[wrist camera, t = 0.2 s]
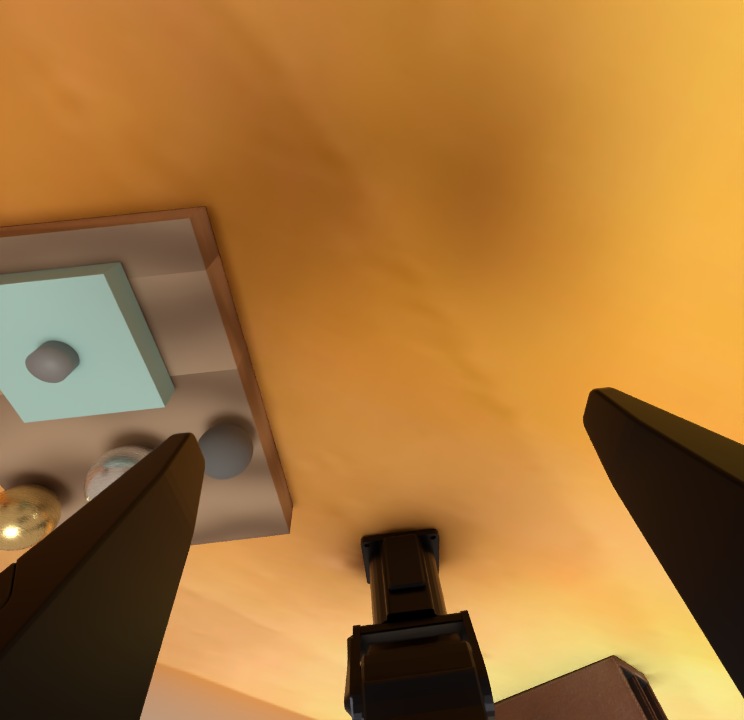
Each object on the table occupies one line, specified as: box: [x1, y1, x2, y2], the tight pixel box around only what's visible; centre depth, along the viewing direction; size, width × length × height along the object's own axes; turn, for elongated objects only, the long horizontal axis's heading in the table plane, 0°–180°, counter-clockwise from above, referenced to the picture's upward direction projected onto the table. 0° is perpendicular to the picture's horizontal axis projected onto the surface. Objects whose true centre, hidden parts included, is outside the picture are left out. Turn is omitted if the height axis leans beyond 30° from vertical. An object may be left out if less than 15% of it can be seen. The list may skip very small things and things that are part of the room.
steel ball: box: [84, 445, 152, 503], centre depth 22 cm, size 4×4×4 cm
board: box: [0, 206, 293, 545], centre depth 24 cm, size 22×16×2 cm
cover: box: [0, 262, 175, 423], centre depth 18 cm, size 7×7×2 cm
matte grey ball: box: [198, 424, 253, 480], centre depth 22 cm, size 3×3×3 cm
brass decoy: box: [0, 484, 62, 551], centre depth 23 cm, size 4×4×4 cm
